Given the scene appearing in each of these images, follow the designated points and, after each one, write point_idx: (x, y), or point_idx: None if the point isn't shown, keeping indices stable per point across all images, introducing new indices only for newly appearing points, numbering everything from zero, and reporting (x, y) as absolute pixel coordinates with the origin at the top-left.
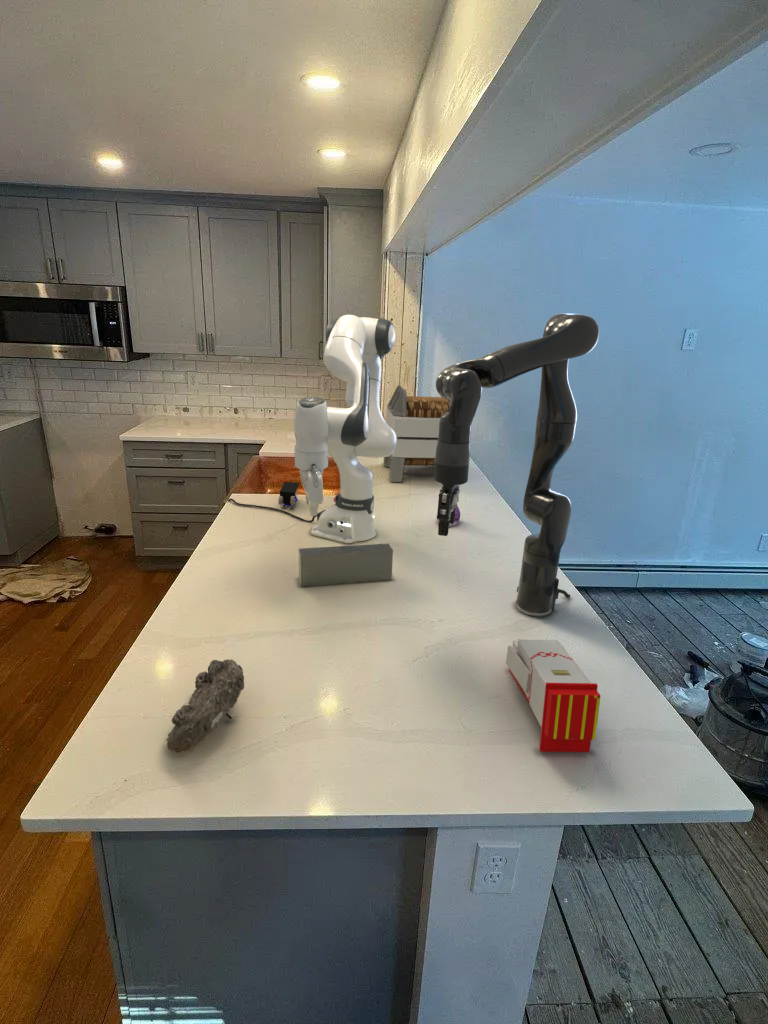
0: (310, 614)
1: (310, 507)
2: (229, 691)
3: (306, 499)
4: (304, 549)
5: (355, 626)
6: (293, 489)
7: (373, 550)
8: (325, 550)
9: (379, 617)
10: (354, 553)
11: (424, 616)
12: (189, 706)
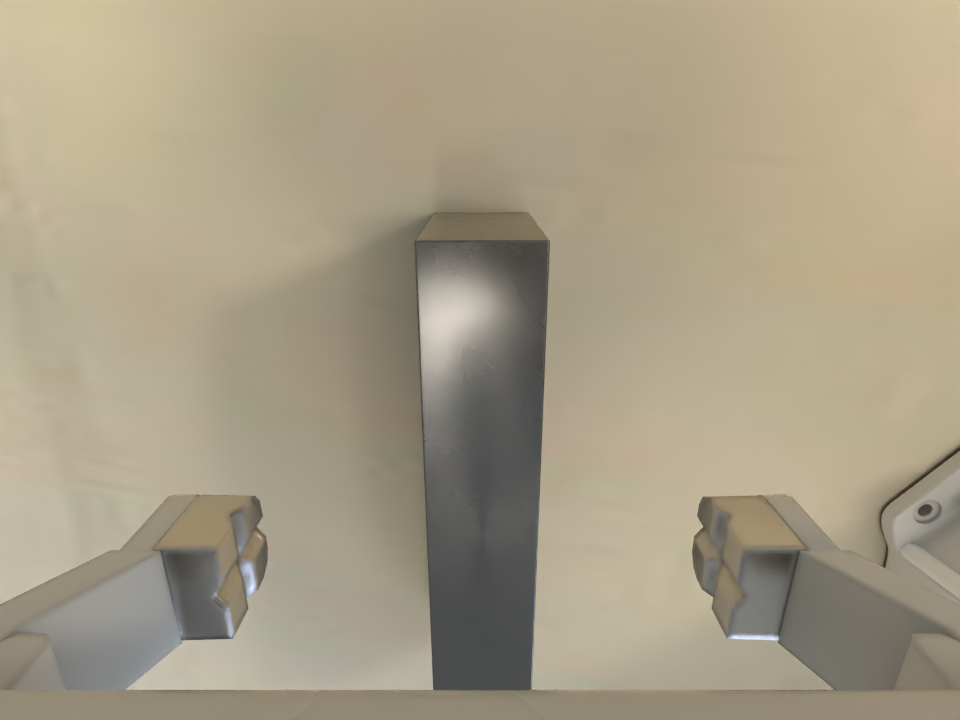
0: (145, 229)
1: (64, 580)
2: None
3: (750, 533)
4: (524, 281)
5: (52, 403)
6: None
7: (445, 660)
8: (484, 416)
9: (130, 501)
10: (428, 564)
11: None
12: None
